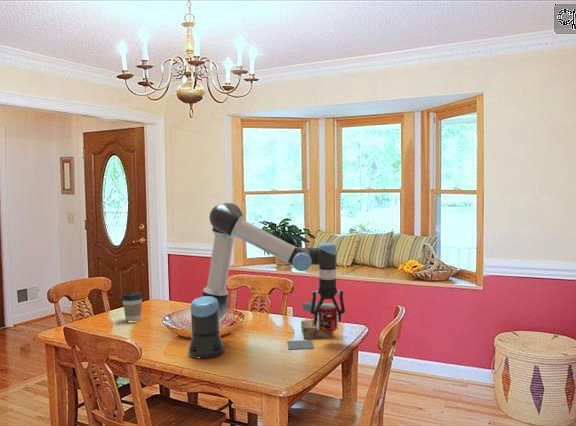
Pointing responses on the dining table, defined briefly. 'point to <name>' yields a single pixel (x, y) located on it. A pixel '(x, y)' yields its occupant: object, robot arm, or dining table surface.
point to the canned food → (327, 317)
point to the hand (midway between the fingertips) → (327, 328)
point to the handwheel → (309, 307)
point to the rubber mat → (300, 345)
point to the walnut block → (313, 330)
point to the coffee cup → (132, 305)
